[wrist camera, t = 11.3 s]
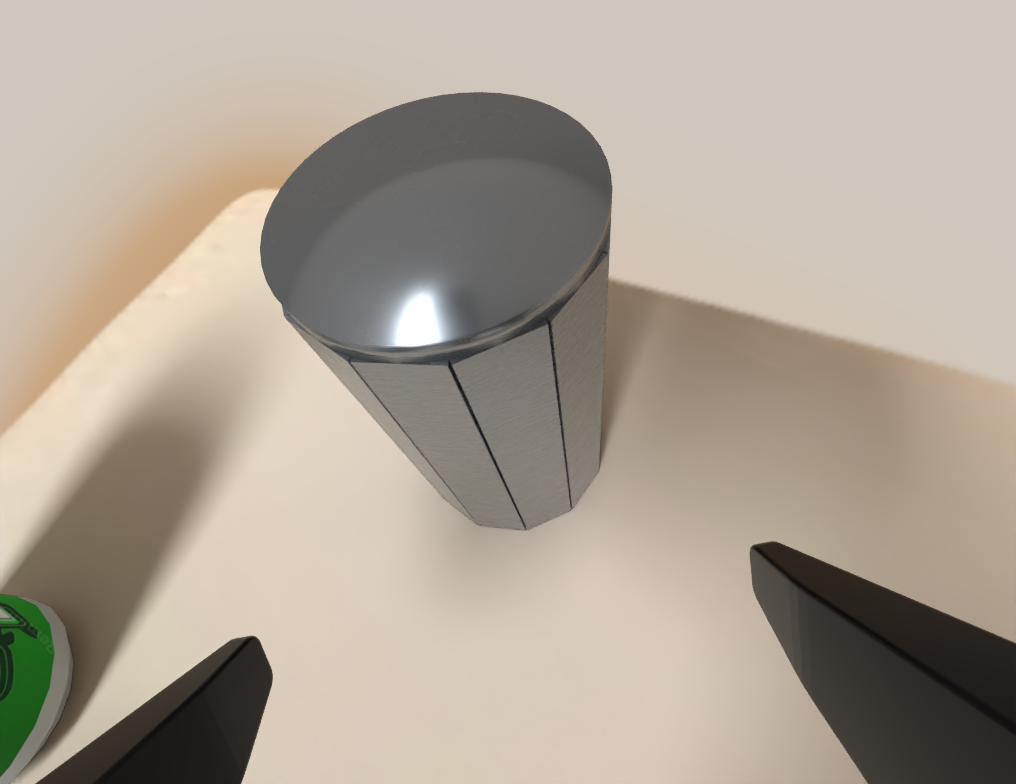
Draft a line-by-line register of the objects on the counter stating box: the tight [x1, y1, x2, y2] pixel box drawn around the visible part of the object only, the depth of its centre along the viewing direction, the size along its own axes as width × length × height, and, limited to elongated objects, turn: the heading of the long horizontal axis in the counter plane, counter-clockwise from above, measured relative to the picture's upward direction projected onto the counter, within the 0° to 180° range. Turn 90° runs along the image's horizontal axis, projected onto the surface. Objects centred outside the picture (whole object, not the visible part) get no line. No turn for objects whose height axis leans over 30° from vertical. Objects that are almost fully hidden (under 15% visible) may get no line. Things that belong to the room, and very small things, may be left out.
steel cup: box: [260, 92, 612, 530], centre depth 16 cm, size 7×7×13 cm
